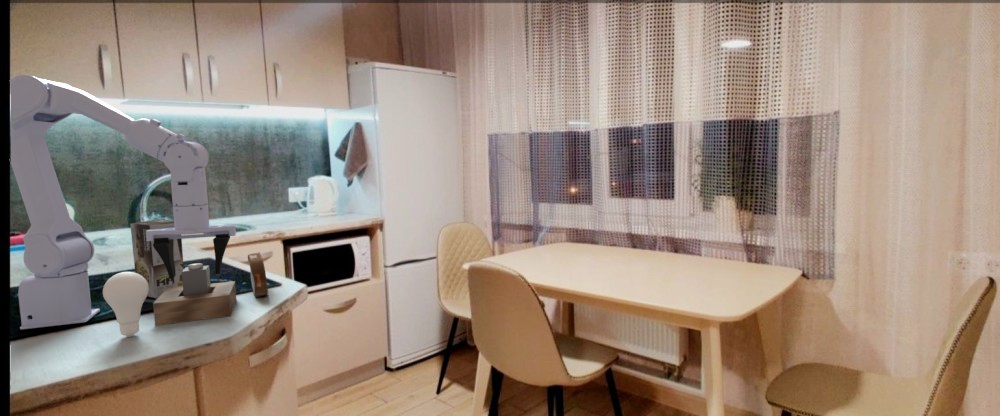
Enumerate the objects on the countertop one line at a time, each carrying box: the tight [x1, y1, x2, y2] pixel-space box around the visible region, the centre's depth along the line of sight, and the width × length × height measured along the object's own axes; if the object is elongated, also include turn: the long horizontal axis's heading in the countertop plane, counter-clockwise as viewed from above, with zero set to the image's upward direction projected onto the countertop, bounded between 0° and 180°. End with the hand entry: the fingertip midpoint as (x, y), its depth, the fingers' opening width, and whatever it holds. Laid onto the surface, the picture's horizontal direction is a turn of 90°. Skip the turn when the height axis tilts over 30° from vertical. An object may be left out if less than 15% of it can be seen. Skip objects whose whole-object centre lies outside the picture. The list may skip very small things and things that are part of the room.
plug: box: [182, 262, 211, 296], centre depth 98 cm, size 4×4×7 cm
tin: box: [247, 252, 269, 298], centre depth 111 cm, size 15×3×8 cm, turn 29°
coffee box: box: [130, 219, 185, 299], centre depth 112 cm, size 9×6×16 cm
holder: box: [152, 280, 237, 326], centre depth 98 cm, size 12×12×4 cm
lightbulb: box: [102, 271, 149, 338], centre depth 84 cm, size 6×6×11 cm
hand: (195, 275), depth 97 cm, fingers open, 7 cm apart
